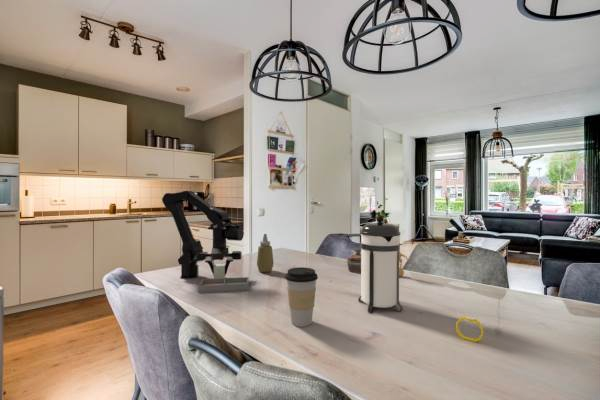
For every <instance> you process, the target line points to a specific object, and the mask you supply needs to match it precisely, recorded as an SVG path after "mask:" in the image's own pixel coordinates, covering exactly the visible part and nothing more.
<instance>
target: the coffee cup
mask: <svg viewBox="0 0 600 400" xmlns="http://www.w3.org/2000/svg"><path fill="white" fill-rule="evenodd" d="M284 278H285V280H286V281H287V282H286V283H287V289H286V290H287V297H288V306H289V312H290V313H289V314H290V321H291V324H292V325H293V326H295V327H300V328H301V327H302V328H303V327H308V326H310V325H312V323H313V322H312V321H313V312H314V307H315V299H316V285H317V282H316V281H317V280H318V279H319V278H318V274H317V273H316V270H315V269H314V268H310V267H292V268H289V269H288V270H287V273H285V276H284Z"/></svg>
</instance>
